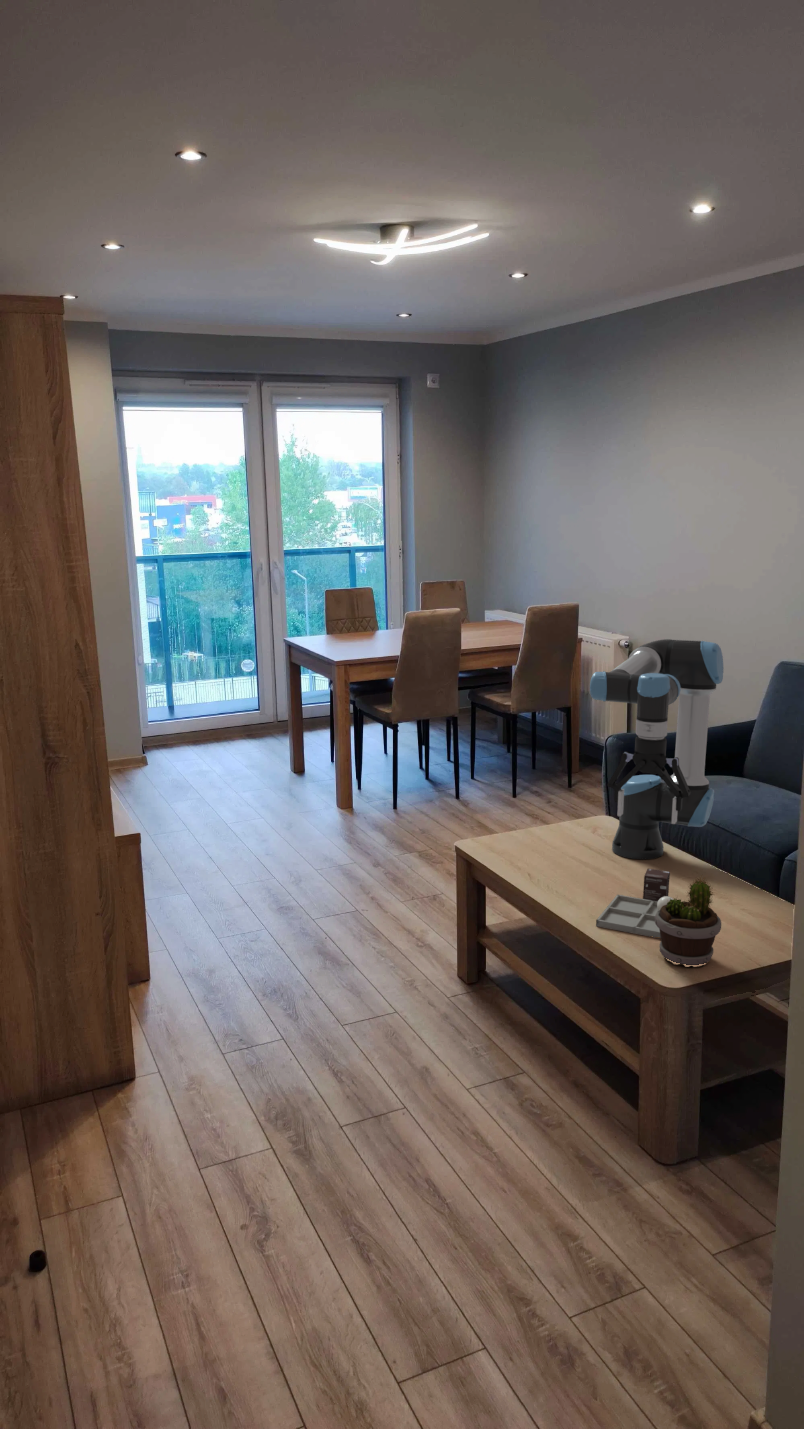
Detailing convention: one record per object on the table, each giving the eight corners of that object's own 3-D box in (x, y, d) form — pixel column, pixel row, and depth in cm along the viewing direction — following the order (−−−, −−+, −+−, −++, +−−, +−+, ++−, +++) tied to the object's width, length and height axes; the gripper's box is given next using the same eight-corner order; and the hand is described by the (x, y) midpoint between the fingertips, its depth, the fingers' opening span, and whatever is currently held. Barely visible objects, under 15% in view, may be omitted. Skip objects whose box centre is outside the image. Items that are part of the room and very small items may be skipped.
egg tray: (617, 900, 268) (617, 894, 268) (689, 913, 259) (690, 907, 259) (596, 926, 252) (596, 920, 251) (672, 941, 243) (673, 934, 243)
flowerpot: (681, 978, 224) (687, 894, 220) (639, 951, 237) (643, 870, 233) (733, 967, 229) (739, 884, 225) (689, 940, 243) (694, 862, 239)
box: (642, 901, 267) (643, 875, 266) (645, 893, 273) (647, 868, 271) (665, 905, 265) (667, 878, 263) (668, 896, 270) (670, 871, 269)
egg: (659, 909, 260) (659, 892, 260) (677, 912, 258) (678, 895, 257) (654, 916, 256) (655, 898, 255) (673, 919, 254) (674, 901, 253)
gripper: (597, 734, 251) (594, 815, 256) (699, 745, 240) (694, 830, 244) (606, 728, 258) (602, 808, 262) (705, 738, 247) (700, 821, 251)
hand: (646, 818), depth 253 cm, fingers open, 13 cm apart
